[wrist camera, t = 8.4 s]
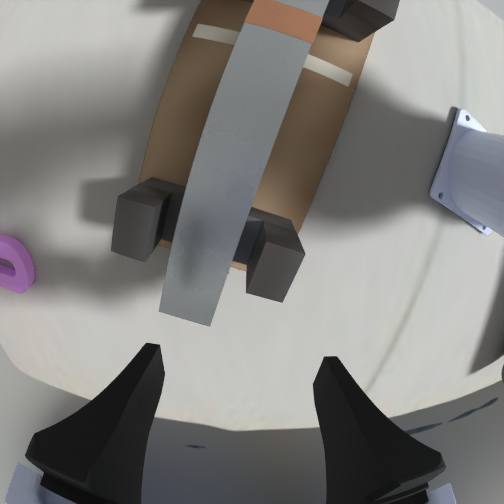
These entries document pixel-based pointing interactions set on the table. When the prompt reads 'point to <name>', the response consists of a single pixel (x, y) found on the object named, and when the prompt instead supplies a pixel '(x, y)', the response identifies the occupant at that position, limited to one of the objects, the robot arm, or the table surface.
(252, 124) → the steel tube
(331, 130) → the board
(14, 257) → the bracket
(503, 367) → the bluetooth speaker
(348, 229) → the table surface
